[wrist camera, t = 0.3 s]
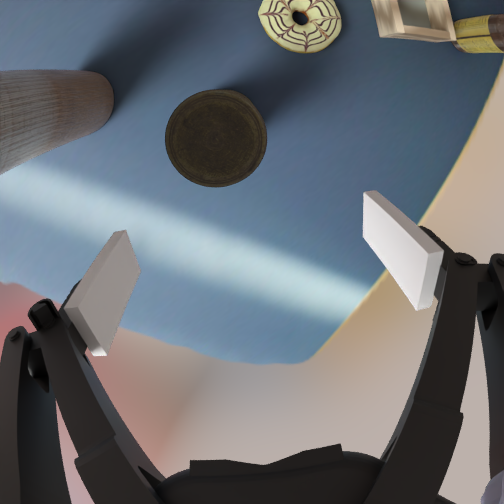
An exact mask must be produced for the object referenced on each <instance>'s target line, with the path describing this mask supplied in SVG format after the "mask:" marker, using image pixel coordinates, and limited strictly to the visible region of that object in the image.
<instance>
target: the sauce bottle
mask: <svg viewBox="0 0 504 504" xmlns="http://www.w3.org/2000/svg"><path fill="white" fill-rule="evenodd" d="M453 26H454V31H455V35H456V41H451V42H452V44H453V45H454V46H455V47H456V48H457V49H458V50H459V51H461V52H465V53H468V52H469V53H504V14H499V15H486V16H479V17H473V18H467V19H461V20H458V21H454V22H453Z"/></svg>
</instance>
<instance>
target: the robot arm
mask: <svg viewBox="0 0 504 504" xmlns="http://www.w3.org/2000/svg"><path fill="white" fill-rule="evenodd" d="M363 237H364V239H365V240H366V241H367V243H368V244H369V245H370V247H371V248H372V249H373V250H374V252H375V253H376V254H377V256H378V257H379V258H380V260H381V261H382V263H383V264H384V265H385V267H386V268H387V269H388V271H389V272H390V273H391V275H392V276H393V278H394V279H395V280H396V282H397V283H398V285H399V286H400V288H401V289H402V290H403V292H404V293H405V295H406V296H407V298H408V299H409V300H410V302H411V303H412V305H413V306H414V308H415V309H416V311H417V310H421V309H424V308H428V307H431V304H432V300H433V297H434V296H435V297H436V298H437V300H438V305H437V308H436V311H435V315H434V318H433V324H432V328H431V332H430V335H429V339H428V342H427V345H426V349H425V352H424V355H423V358H422V361H421V364H420V367H419V370H418V373H417V376H416V379H415V382H414V385H413V387H412V390H411V393H410V395H409V398H408V400H407V403H406V405H405V408H404V410H403V413H402V415H401V417H400V420H399V422H398V424H397V426H396V429H395V431H394V433H393V435H392V437H391V439H390V441H389V443H388V445H387V447H386V449H385V451H384V452H383V454H382V456H381V458H380V459H377V458H375V457H373V456H370V455H367V454H363V453H358V452H350V451H342V448H341V444H336V445H331V446H327V447H322V448H316V449H311V450H306V451H302V452H300V453H298V454H295V455H292V456H289V457H287V458H284V459H281V460H279V461H276V462H273V463H270V464H267V465H258V464H251V463H244V462H237V461H231V460H190V469H186V470H183V471H181V472H178V473H176V474H174V475H171V476H170V477H168V478H167V479H166V478H165V477H164V476H163V475H162V474H161V473H160V472H159V471H158V470H157V469H156V467H155V466H154V465H153V464H152V462H151V461H150V459H149V458H148V457H147V455H146V454H145V453H144V451H143V450H142V448H141V447H140V446H139V444H138V443H137V441H136V440H135V438H134V437H133V435H132V434H131V432H130V431H129V429H128V428H127V426H126V425H125V423H124V421H123V420H122V418H121V417H120V415H119V413H118V412H117V410H116V409H115V407H114V405H113V404H112V402H111V400H110V399H109V397H108V395H107V393H106V391H105V390H104V388H103V386H102V384H101V382H100V380H99V379H98V377H97V375H96V373H95V371H94V369H93V367H92V365H91V363H90V361H89V359H88V357H87V356H86V355H85V351H86V349H87V347H88V348H89V350H90V351H91V353H92V354H93V356H107V355H108V352H109V350H110V347H111V344H112V342H113V339H114V336H115V333H116V331H117V328H118V326H119V323H120V321H121V318H122V315H123V313H124V310H125V308H126V305H127V303H128V301H129V298H130V296H131V293H132V291H133V289H134V286H135V284H136V282H137V279H138V277H139V275H140V272H141V269H140V267H139V264H138V262H137V259H136V256H135V254H134V251H133V248H132V245H131V243H130V240H129V237H128V234H127V231H126V230H122V231H118V232H114V233H113V235H112V236H111V237H110V239H109V240H108V242H107V243H106V244H105V246H104V247H103V249H102V250H101V251H100V253H99V254H98V256H97V257H96V259H95V260H94V262H93V263H92V265H91V266H90V268H89V269H88V271H87V272H86V274H85V275H84V277H83V278H82V279H81V280H80V281H79V282H78V283H77V284H76V285H74V287H73V288H72V290H71V291H70V294H69V295H68V296H67V299H65V301H64V303H63V304H62V306H61V308H60V309H59V311H57V309H56V307H55V306H54V304H53V302H52V301H51V299H43V300H40V301H39V302H37V303H36V304H34V305H33V306H32V307H31V308H30V310H29V312H28V317H29V319H30V320H31V322H32V323H33V325H34V326H35V328H36V329H37V331H35V332H32V333H29V334H28V332H27V331H26V329H25V328H24V327H23V326H19V327H16V328H14V329H12V330H11V331H10V332H9V333H8V335H7V336H6V339H5V342H4V346H3V351H2V356H1V362H0V504H72V503H71V499H70V495H69V491H68V486H67V482H66V477H65V472H64V466H63V461H62V455H61V448H60V441H59V433H58V423H57V414H56V401H57V403H58V406H59V409H60V411H61V414H62V417H63V420H64V422H65V425H66V427H67V430H68V432H69V435H70V437H71V440H72V442H73V444H74V446H75V449H76V451H77V453H78V456H79V457H78V458H76V459H75V461H74V462H75V465H76V469H77V471H78V473H79V475H80V477H81V479H82V481H83V483H84V485H85V487H86V489H87V491H88V492H89V494H90V496H91V498H92V500H93V502H94V503H95V504H455V503H454V502H452V501H450V500H448V499H446V498H444V497H442V496H440V495H439V494H438V492H439V489H440V487H441V485H442V482H443V480H444V477H445V475H446V472H447V469H448V467H449V464H450V461H451V458H452V455H453V452H454V449H455V446H456V443H457V439H458V436H459V433H460V430H461V426H462V422H463V413H461V412H460V408H461V403H462V399H463V394H464V390H465V386H466V381H467V376H468V370H469V364H470V358H471V352H472V345H473V336H474V328H475V317H476V315H477V320H478V324H479V329H480V334H481V340H482V346H483V353H484V360H485V368H486V376H487V386H488V399H489V417H490V418H489V420H490V448H489V450H490V451H489V456H490V458H489V459H490V462H489V463H490V464H489V465H490V478H491V480H490V481H489V483H488V485H487V486H486V489H485V492H484V494H483V496H482V497H481V504H504V254H498V253H497V254H493V255H492V256H491V258H490V262H489V264H477V261H476V260H475V259H474V258H473V257H472V256H470V255H468V254H465V253H460V252H459V253H455V252H453V250H452V249H450V248H449V247H448V246H447V245H446V244H445V243H444V242H443V241H441V239H440V238H439V237H436V235H435V234H434V233H433V232H432V231H431V230H429V229H427V228H425V227H423V226H417V225H416V224H415V223H414V222H413V221H412V220H410V219H409V218H408V217H407V216H406V215H405V214H404V213H402V212H401V211H400V210H399V209H398V208H397V207H395V206H394V205H393V204H392V203H391V202H389V201H388V200H387V199H386V198H385V197H383V196H382V195H381V194H380V193H378V192H377V191H367V192H364V205H363Z"/></svg>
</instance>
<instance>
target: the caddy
mask: <svg viewBox="0 0 504 504" xmlns="http://www.w3.org/2000/svg"><path fill="white" fill-rule="evenodd" d="M371 2H372V6H373V10H374V14H375V18H376V22H377V26H378V31H379V36H380V37H387V38H402V39H413V40H422V41H430V42H445V41H456V35H455V31H454V26H453V21H452V17H451V13H450V9H449V5H448V2H447V0H371Z"/></svg>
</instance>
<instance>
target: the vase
mask: <svg viewBox="0 0 504 504" xmlns="http://www.w3.org/2000/svg"><path fill="white" fill-rule="evenodd" d="M113 105H114V93H113V89H112V86H111V84H110V83H109V81H108V80H107V79H106V78H105V77H104V76H103V75H101V74H99V73H96V72H91V71H78V70H11V71H0V175H1V174H3V173H5V172H7V171H9V170H10V169H12V168H14V167H16V166H18V165H20V164H22V163H24V162H26V161H28V160H30V159H32V158H35V157H37V156H39V155H41V154H43V153H45V152H48V151H50V150H52V149H54V148H57V147H59V146H61V145H64V144H66V143H69V142H71V141H74V140H76V139H79V138H81V137H84V136H86V135H89V134H91V133H93V132H95V131H97V130H99V129H100V128H101V127H102V126H103V125H104V124H105V123H106V122H107V120H108V119H109V117H110V115H111V112H112V109H113Z"/></svg>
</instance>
